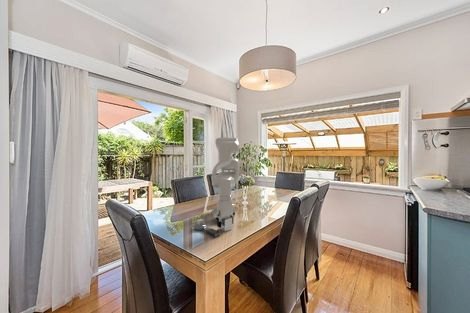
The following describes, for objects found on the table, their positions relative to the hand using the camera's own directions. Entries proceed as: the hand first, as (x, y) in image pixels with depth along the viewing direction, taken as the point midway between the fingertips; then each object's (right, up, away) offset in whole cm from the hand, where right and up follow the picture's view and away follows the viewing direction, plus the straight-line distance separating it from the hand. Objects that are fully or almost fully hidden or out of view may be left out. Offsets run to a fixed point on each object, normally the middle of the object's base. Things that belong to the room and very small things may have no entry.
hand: (225, 225), depth 127 cm
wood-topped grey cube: (0, -2, 0) cm, 2 cm away
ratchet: (-11, -3, -4) cm, 12 cm away
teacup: (-4, -2, +18) cm, 19 cm away
